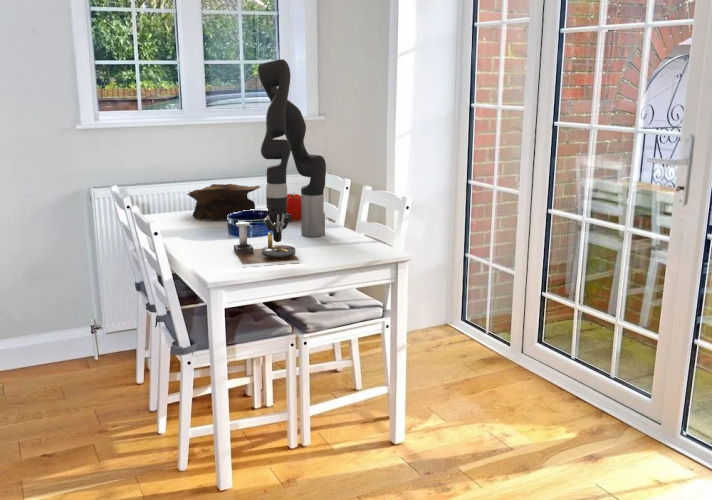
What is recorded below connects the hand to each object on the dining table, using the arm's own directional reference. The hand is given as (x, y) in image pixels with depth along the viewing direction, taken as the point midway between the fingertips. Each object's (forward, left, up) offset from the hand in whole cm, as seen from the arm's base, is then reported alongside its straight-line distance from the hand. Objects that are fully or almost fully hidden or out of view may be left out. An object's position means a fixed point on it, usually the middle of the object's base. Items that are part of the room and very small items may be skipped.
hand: (277, 241), depth 260 cm
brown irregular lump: (+8, -81, -6) cm, 81 cm away
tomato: (-20, -60, -6) cm, 63 cm away
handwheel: (+1, +6, -3) cm, 7 cm away
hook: (+12, -4, -4) cm, 13 cm away
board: (+5, +3, -5) cm, 8 cm away
